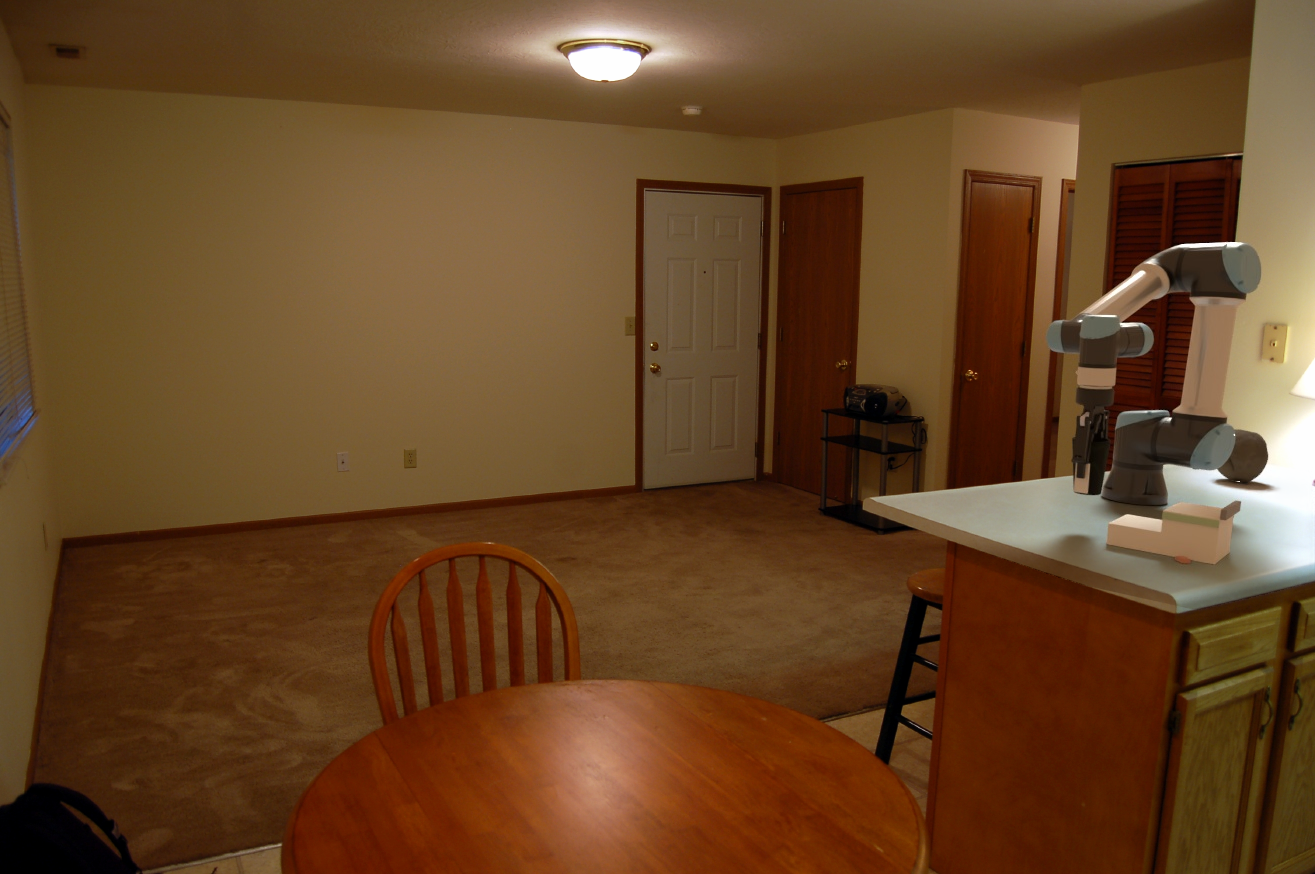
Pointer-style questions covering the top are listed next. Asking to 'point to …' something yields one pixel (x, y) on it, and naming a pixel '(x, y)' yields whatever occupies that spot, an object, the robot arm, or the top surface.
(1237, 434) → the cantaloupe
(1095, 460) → the cup
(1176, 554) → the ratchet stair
